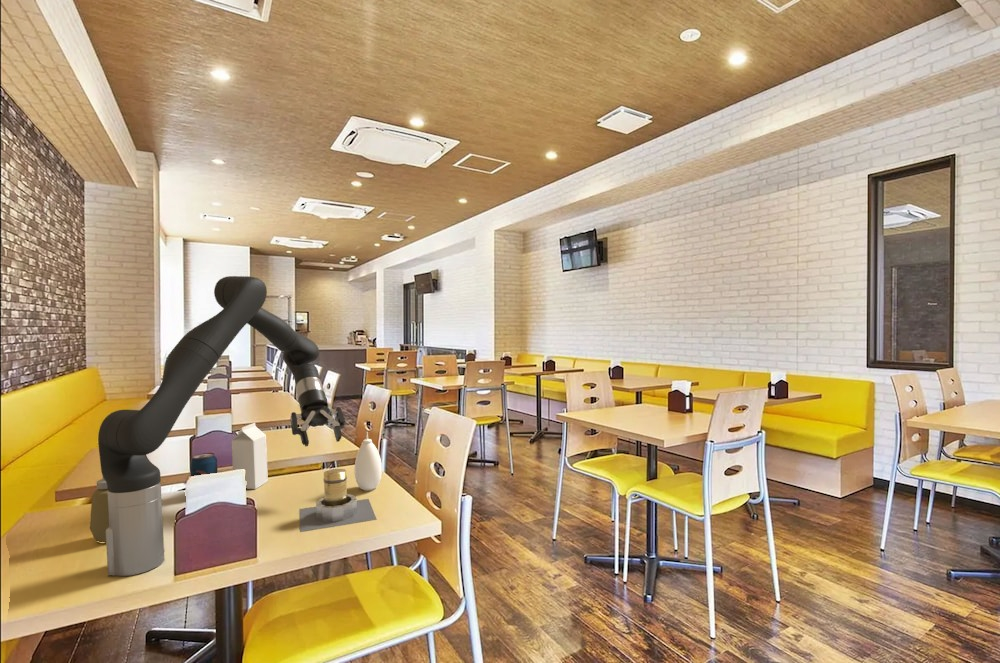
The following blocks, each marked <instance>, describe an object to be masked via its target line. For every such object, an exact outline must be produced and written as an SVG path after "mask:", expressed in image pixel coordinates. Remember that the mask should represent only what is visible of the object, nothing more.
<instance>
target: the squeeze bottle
mask: <svg viewBox="0 0 1000 663" xmlns="http://www.w3.org/2000/svg"><path fill="white" fill-rule="evenodd" d="M90 506H91V507H90V519H89V520H90V521H89V530H90V532H91V534H92V536H93V538H94V540H95V542H96V541H99V542H106V530H107V529H108V527H109V510H108V490H107V483H106V481H105V479H104V478H103V476H102V478H101V479H98V480H96V490H94V491H93V492H92V494H91V505H90Z"/></svg>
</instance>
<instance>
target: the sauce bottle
mask: <svg viewBox="0 0 1000 663" xmlns="http://www.w3.org/2000/svg"><path fill="white" fill-rule="evenodd" d="M368 433H369V432H368V431H366V434H365V435H366V438H365V439H363V440H362V443H361V445H360V447H359V448H358V452H357V454H356V457H355V462H354V479H355V482H356V484H357V485H358V487H359V489H361V490H363V491H365V492H367V491H373V490H375V489H376V488H377V487H378V486H379V485H380V482H381V479H382V475H383V474H382V473H383V464H382V459H381V455H380V453H379V450H378V449H377V447H376V445H375V444H374V443H373V440H372V439H371V438H369V434H368Z"/></svg>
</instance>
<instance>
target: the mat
mask: <svg viewBox="0 0 1000 663" xmlns="http://www.w3.org/2000/svg"><path fill="white" fill-rule="evenodd" d="M373 509H374V508H373V506H372V504H371V502H370V498H366V499H365V498H364V499H363V498H362V499H358V500H357V513H356V514H355V515H354V516H353V517H351V518H348V519H346V520H342V521H336V522H323V521H320V520H318V519H317V515H316V506H310V507H303V508H299V533H303V532H310V531H316V530H322V529H329V528H335V527H341V526H346V525H352V524H358V523H359V524H360V523H363V522H364V523H365V522H371V521H376V520H378V519H377V516H376V514H375V512H374V510H373Z"/></svg>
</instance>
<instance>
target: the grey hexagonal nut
mask: <svg viewBox="0 0 1000 663" xmlns="http://www.w3.org/2000/svg"><path fill="white" fill-rule="evenodd" d="M315 507H316V515H317V519H318V520H320V521H323V522H336V521H342V520H346V519H348V518H351V517H353V516H354V515H355V514H356V513H357V496H356V495H353V494H349V493H347V503H346V504H343V505H339V506H325V496H324V497H321V498H320V499H318V500H317V501H316V502H315Z"/></svg>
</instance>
